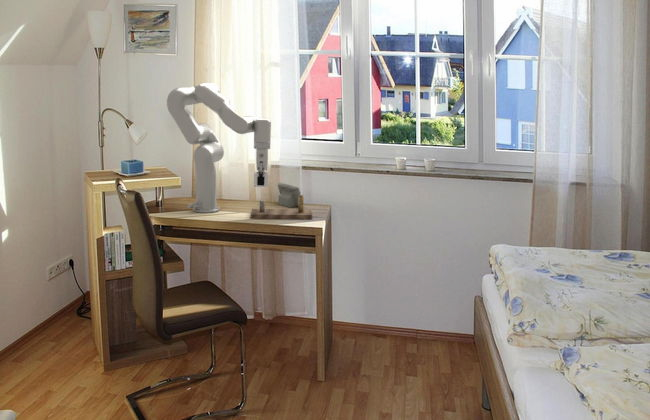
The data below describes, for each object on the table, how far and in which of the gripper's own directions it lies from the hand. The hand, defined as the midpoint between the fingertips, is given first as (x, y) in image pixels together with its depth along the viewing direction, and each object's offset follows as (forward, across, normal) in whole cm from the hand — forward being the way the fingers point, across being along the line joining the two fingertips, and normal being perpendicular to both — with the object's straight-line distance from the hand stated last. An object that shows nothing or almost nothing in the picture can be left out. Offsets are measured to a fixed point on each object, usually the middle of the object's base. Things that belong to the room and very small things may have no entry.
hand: (260, 183), depth 345 cm
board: (+15, 0, -10) cm, 18 cm away
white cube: (+1, 0, 0) cm, 1 cm away
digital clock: (+15, +25, -14) cm, 32 cm away
